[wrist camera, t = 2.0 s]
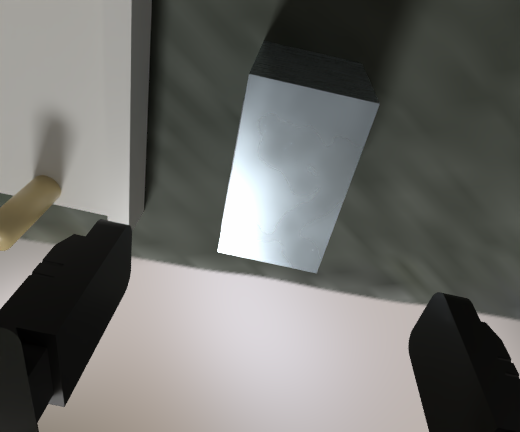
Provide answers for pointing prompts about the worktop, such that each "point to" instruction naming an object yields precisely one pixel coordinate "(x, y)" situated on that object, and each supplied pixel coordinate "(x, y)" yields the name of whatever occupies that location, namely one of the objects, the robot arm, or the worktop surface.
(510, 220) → the worktop surface
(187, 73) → the worktop surface
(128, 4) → the white peg stand
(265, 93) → the block
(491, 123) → the worktop surface
